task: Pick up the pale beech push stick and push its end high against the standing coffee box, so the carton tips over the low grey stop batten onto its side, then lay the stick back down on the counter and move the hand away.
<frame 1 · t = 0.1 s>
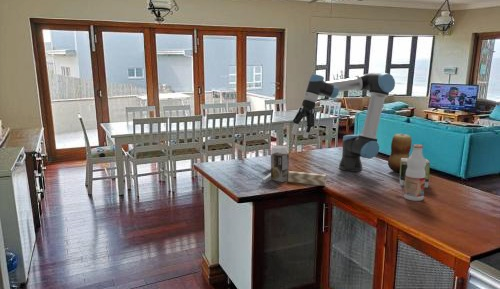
hand: (299, 136, 221), 28 cm above the worktop, tool tilted 20°, fingers open, 13 cm apart
fruit juice: (413, 198, 197), on the worktop
beech stick: (306, 183, 224), on the worktop
butternut squash: (398, 172, 248), on the worktop
cup: (278, 168, 258), on the worktop
coffee box: (279, 180, 231), on the worktop
stop batten: (269, 178, 233), on the worktop
tea box: (413, 185, 220), on the worktop
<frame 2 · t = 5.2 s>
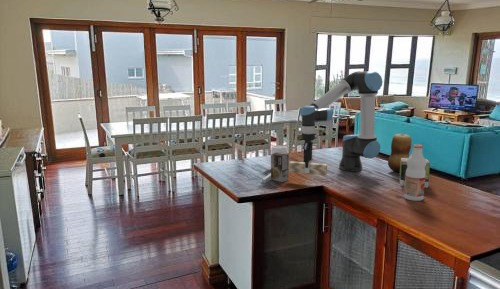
hand: (307, 172, 223), 6 cm above the worktop, tool pointing down, fingers closed on beech stick, 3 cm apart
beech stick: (307, 173, 223), point 6 cm above the worktop, touching gripper
everything else where it was.
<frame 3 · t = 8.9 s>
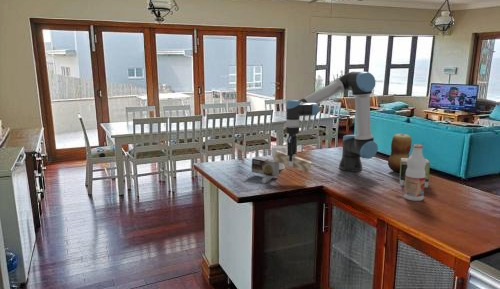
hand: (291, 165, 226), 10 cm above the worktop, tool pointing down, fingers closed on beech stick, 3 cm apart
beech stick: (291, 165, 226), point 9 cm above the worktop, tilted 15°, touching gripper
coffee box: (277, 168, 231), point 6 cm above the worktop, touching stop batten
everything else where it was.
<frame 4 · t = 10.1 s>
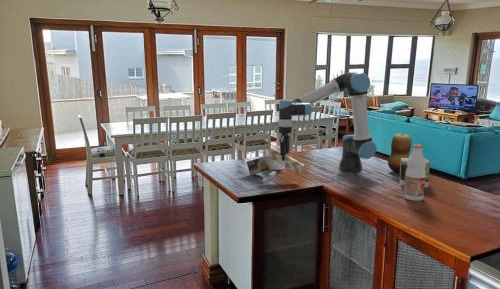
hand: (284, 164, 227), 10 cm above the worktop, tool pointing down, fingers closed on beech stick, 3 cm apart
beech stick: (283, 164, 228), point 10 cm above the worktop, tilted 25°, touching coffee box, gripper
coffee box: (271, 161, 233), point 10 cm above the worktop, touching beech stick
everything else where it was.
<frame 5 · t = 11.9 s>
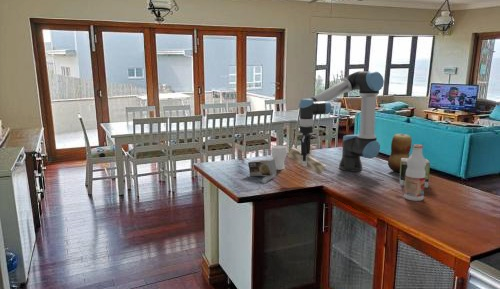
hand: (305, 165, 223), 11 cm above the worktop, tool pointing down, fingers closed on beech stick, 3 cm apart
beech stick: (304, 165, 223), point 11 cm above the worktop, tilted 25°, touching gripper
coffee box: (273, 167, 232), point 7 cm above the worktop, touching stop batten
everything else where it was.
when the fingers open (0 cm above the worktop, at t = 16.2 s): beech stick stays where it is, on the worktop.
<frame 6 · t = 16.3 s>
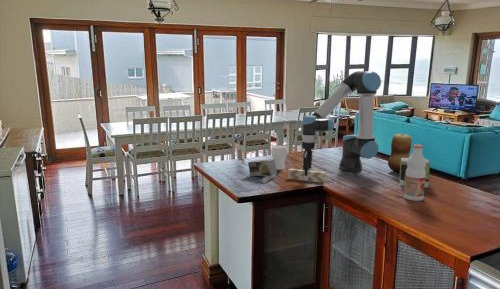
hand: (306, 179, 230), 0 cm above the worktop, tool pointing down, fingers open, 3 cm apart
beech stick: (306, 180, 230), on the worktop
everything else where it was.
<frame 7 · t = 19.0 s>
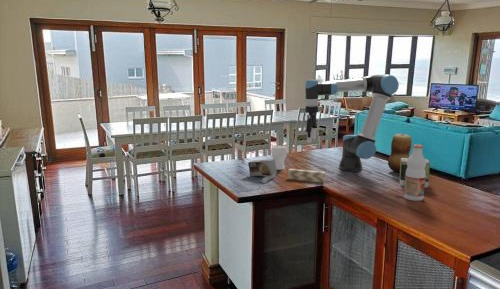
hand: (311, 140, 231), 23 cm above the worktop, tool pointing down, fingers open, 13 cm apart
nothing on the worktop moved.
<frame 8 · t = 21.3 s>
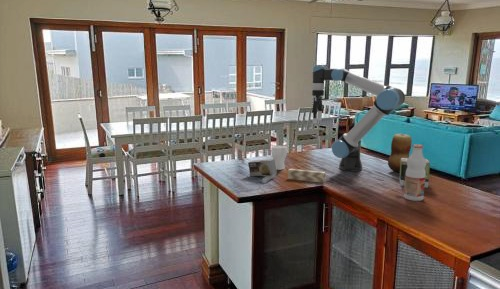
hand: (317, 121, 252), 32 cm above the worktop, tool pointing down, fingers open, 13 cm apart
nothing on the worktop moved.
at the end: coffee box tilted 100°; the gripper is holding nothing; beech stick inside the target area (0.8 cm from its centre), on the worktop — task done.
